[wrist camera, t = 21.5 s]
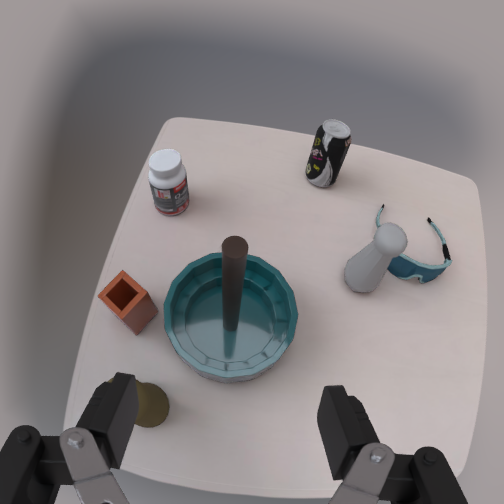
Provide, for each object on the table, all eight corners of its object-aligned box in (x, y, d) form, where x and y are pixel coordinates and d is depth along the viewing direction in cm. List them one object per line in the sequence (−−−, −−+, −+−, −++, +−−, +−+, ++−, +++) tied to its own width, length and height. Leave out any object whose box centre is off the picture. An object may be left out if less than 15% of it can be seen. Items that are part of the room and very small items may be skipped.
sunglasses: (373, 277, 47) (386, 258, 43) (368, 210, 56) (378, 190, 52) (445, 292, 47) (461, 275, 43) (432, 228, 56) (443, 210, 52)
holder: (114, 314, 41) (97, 295, 35) (135, 291, 43) (122, 269, 37) (136, 335, 40) (121, 320, 34) (158, 311, 42) (147, 292, 36)
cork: (150, 436, 34) (124, 441, 24) (115, 405, 35) (80, 399, 26) (178, 403, 36) (162, 397, 27) (143, 373, 38) (116, 356, 28)
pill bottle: (185, 218, 50) (178, 175, 41) (151, 215, 50) (139, 172, 41) (192, 191, 53) (188, 147, 44) (160, 188, 53) (151, 145, 44)
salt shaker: (336, 291, 46) (371, 246, 35) (342, 258, 49) (374, 208, 37) (372, 302, 45) (415, 261, 34) (376, 269, 48) (415, 223, 37)
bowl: (148, 332, 41) (137, 318, 35) (220, 253, 48) (220, 230, 42) (241, 406, 37) (243, 404, 32) (309, 315, 44) (321, 299, 39)
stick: (219, 325, 41) (216, 248, 24) (229, 314, 42) (232, 231, 25) (231, 334, 41) (237, 263, 24) (241, 323, 42) (253, 245, 25)
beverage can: (299, 168, 57) (313, 117, 47) (327, 165, 59) (344, 116, 48) (311, 191, 55) (328, 140, 44) (339, 187, 56) (360, 138, 46)
